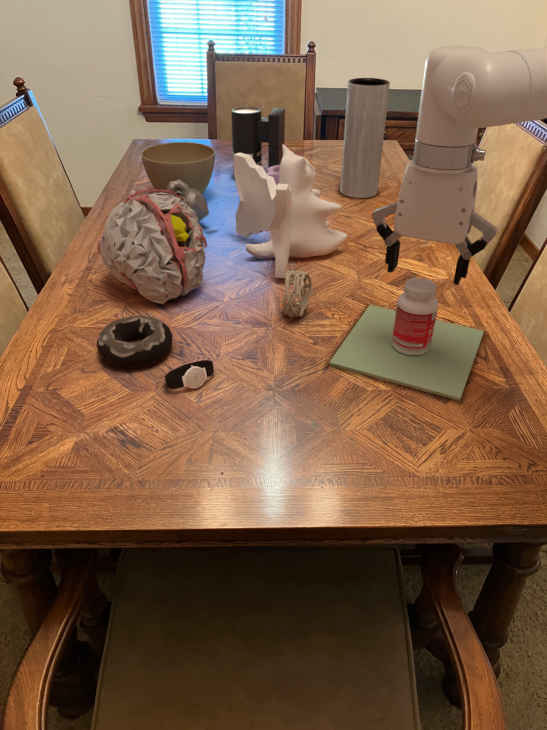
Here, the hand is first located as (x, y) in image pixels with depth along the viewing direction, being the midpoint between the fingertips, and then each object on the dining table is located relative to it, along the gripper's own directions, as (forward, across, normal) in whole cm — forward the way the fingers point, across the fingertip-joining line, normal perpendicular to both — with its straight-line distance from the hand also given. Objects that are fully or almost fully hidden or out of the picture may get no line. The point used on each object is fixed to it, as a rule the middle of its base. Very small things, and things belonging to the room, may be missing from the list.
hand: (424, 274), depth 84 cm
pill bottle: (+13, 0, 0) cm, 13 cm away
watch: (+14, +28, +22) cm, 38 cm away
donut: (+13, +40, +20) cm, 46 cm away
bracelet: (+13, +22, -2) cm, 25 cm away
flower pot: (+12, +72, -42) cm, 84 cm away
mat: (+13, +1, 0) cm, 13 cm away
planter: (+12, +33, -68) cm, 77 cm away
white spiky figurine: (+13, +33, -26) cm, 43 cm away
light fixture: (+12, +63, -68) cm, 93 cm away
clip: (+12, +48, -50) cm, 70 cm away
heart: (+12, +60, -28) cm, 67 cm away
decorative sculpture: (+13, +50, 0) cm, 51 cm away
